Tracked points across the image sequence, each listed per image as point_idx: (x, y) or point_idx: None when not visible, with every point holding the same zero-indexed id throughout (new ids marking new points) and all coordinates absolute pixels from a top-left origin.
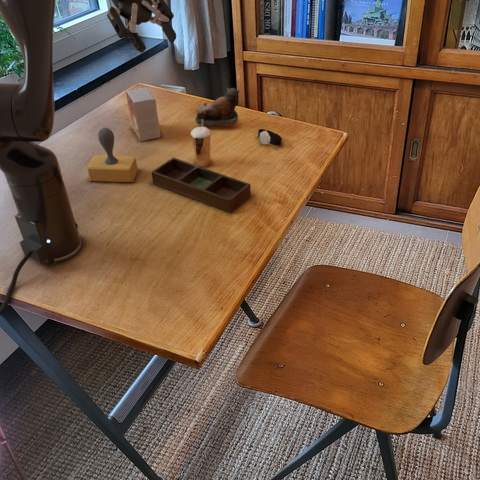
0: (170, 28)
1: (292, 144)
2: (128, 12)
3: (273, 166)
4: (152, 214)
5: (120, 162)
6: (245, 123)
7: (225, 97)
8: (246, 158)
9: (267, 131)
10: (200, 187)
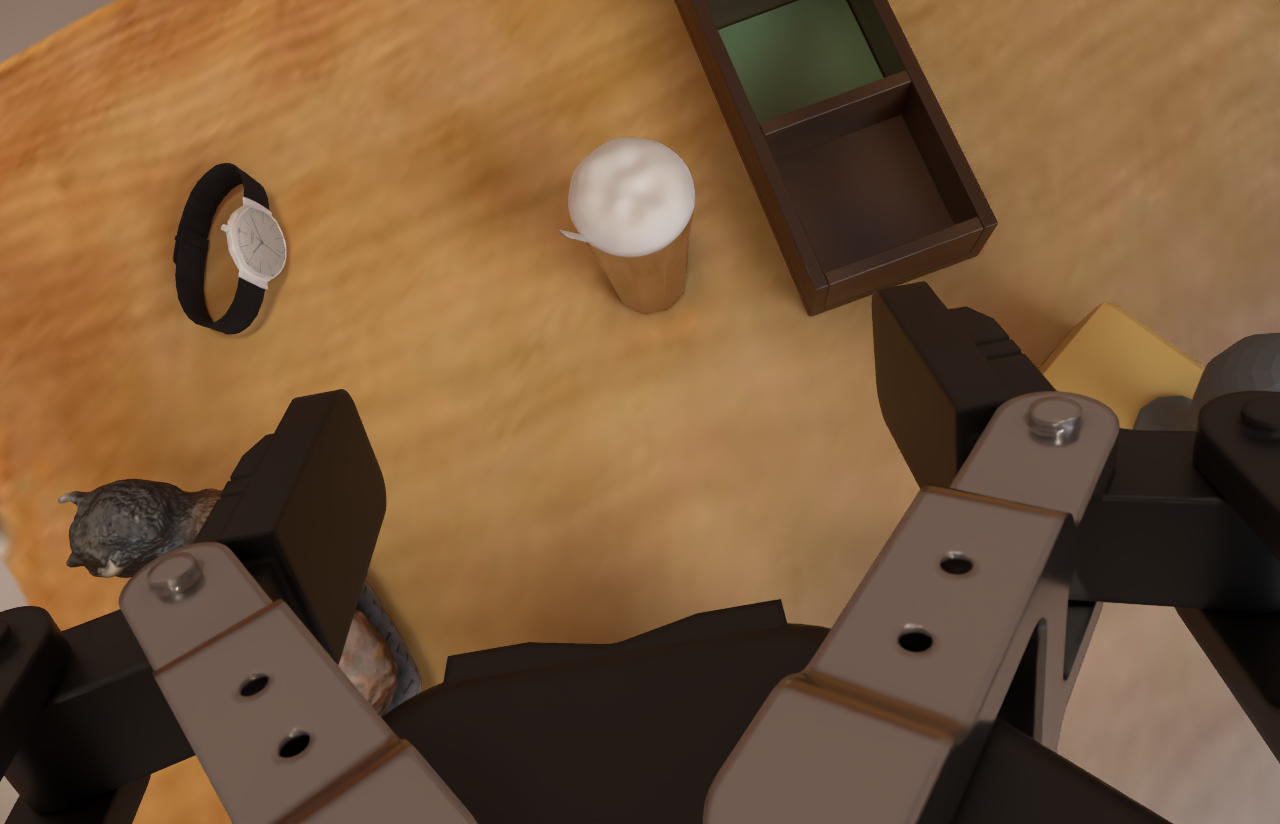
0: (269, 466)
1: (174, 178)
2: (1055, 779)
3: (393, 63)
4: (1097, 30)
5: (1129, 391)
6: None
7: (193, 516)
8: (444, 196)
9: (189, 306)
10: (803, 64)
